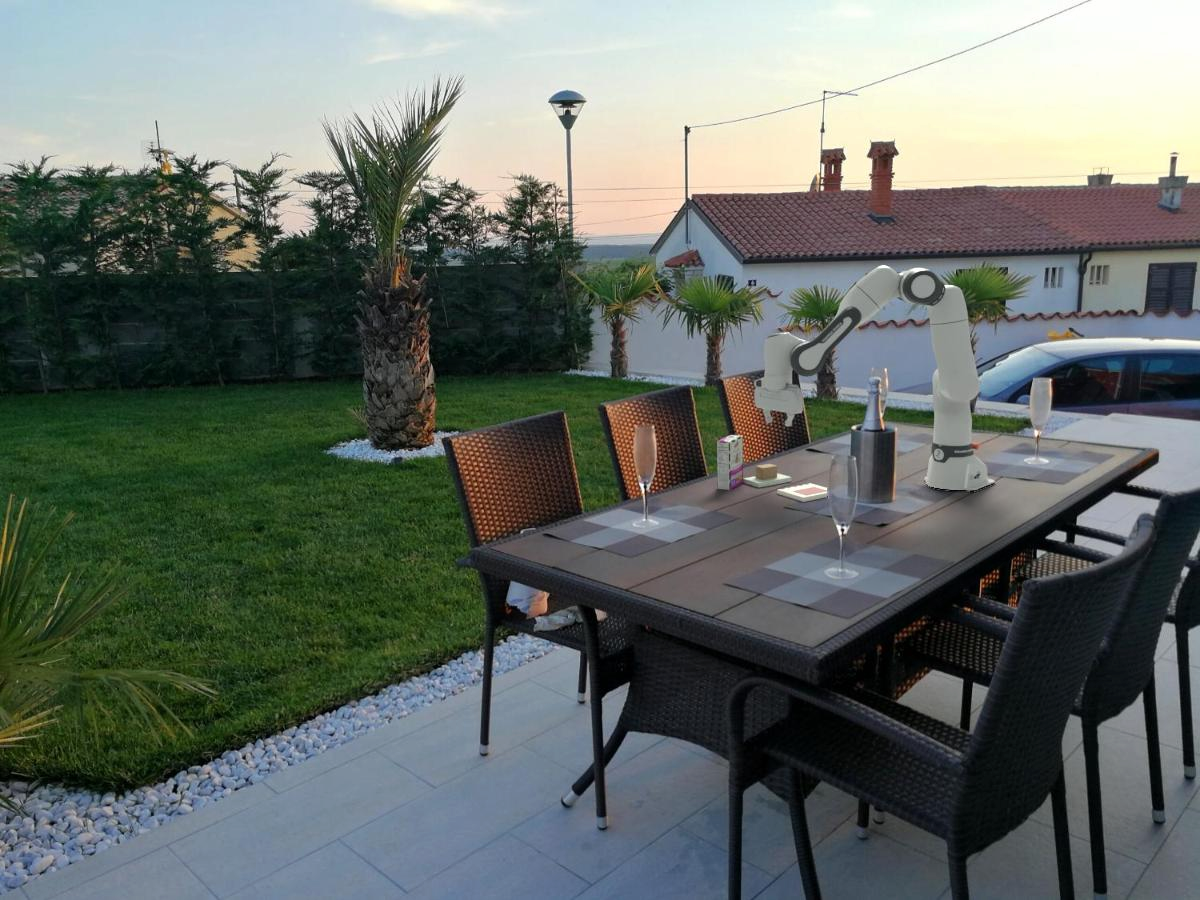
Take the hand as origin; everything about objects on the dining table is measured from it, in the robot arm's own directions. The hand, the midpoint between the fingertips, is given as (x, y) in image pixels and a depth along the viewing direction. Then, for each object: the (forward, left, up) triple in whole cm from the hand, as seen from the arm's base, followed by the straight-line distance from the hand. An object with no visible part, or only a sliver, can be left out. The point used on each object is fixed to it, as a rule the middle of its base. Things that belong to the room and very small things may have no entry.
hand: (778, 424), depth 275 cm
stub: (+2, -3, -20) cm, 20 cm away
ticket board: (+2, +16, -20) cm, 26 cm away
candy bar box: (+15, -7, -20) cm, 26 cm away
